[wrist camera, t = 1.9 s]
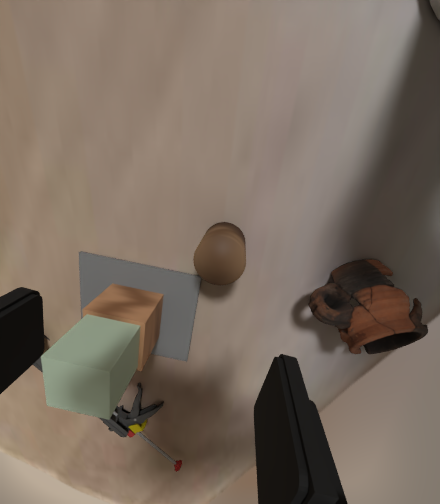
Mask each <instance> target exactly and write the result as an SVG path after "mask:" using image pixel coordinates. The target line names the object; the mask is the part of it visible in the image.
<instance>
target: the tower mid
mask: <svg viewBox="0 0 440 504" xmlns="http://www.w3.org/2000/svg"><path fill="white" fill-rule="evenodd" d="M140 327H141V326H140V325H135V324H130V323H126V322H121V321H116V320H112V319H107V318H103V317H98V316H93V315H89V314H87V315H85V316H84V317H83V318H82V319H81V320H80V321H79V322H78V323H77V324H76V325H75V326H74V327H72V328H71V329H70V330H69V331H68V332H67V333H66V334H65V335H64V336H63V337H62V338H60V339H59V340H58V341H57V342H56V343H55V344H54V345H53V346H52V347H51V348H50V349H48V350H47V351H46V352H45V353H44V354H43V355H42V356H41V362H42V370H43V378H44V386H45V394H46V402H47V406H51V407H55V408H60V409H64V410H68V411H73V412H77V413H81V414H86V415H90V416H95V417H99V418H103V419H108V420H110V418H111V416H112V414H113V412H114V410H115V408H116V407H117V405H118V403H119V401H120V399H121V397H122V395H123V393H124V392H125V390H126V388H127V386H128V384H129V382H130V380H131V379H132V377H133V375H134V373H135V371H136V369H137V367H138V355H139V341H140Z"/></svg>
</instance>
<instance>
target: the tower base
mask: <svg viewBox="0 0 440 504" xmlns="http://www.w3.org/2000/svg"><path fill="white" fill-rule="evenodd" d="M163 297H164V294H160V293H155V292H150V291H146V290H141V289H136V288H132V287H127V286H122V285H117V284H113V283H112V284H111V285H110V286H109V287H108V288H107V289H105V290H104V291H103V292H102V293H101V294H100V295H98V296H97V297H96V298H95V299H94V300H93V301H91V302H90V303H89V304H88V305H87V306H86V307H85V308H83V309H82V312H83V317H84V316H85V315H87V314H89V315H93V316H98V317H103V318H107V319H112V320H116V321H121V322H126V323H130V324H135V325H140V326H141V327H140V341H139V355H138V367H137V369H136V370H138V371H142V369H143V367H144V365H145V363H146V361H147V359H148V357H149V355H150V354H151V352H152V350H153V348H154V346H155V344H156V342H157V340H158V338H159V333H160V324H161V315H162V306H163Z"/></svg>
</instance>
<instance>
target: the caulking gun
mask: <svg viewBox="0 0 440 504" xmlns="http://www.w3.org/2000/svg"><path fill="white" fill-rule="evenodd" d="M44 338H47V337H46V336H44ZM47 339H48V338H47ZM48 340H49V339H48ZM33 365H34V366H35V367H36V368H38V369H39V370H40V371H41V372H43V370H42V362H41V357H40V358H39V359H38V360H37V361H36V362H35V363H34V364H33ZM140 385H141V384H140V383H138V385H137V388H138V389H139V392H138V394H137V396H136V398H135V401H134V403H133V407H132V410H131V413H129V414H128V413H125V412H124V411H122V407H123V405H122V406H120V407H118V406H117V407H116V408H115V410H114V412H113V414H112V416H111V418H110V420H108V419H103V418H100V419H101V420H102V421H103V423H104V424H106V425H107V426H108V427H109V430H110V431H114V432H116V433H117V434H118V435H119V436H121V437H126V436H127V435H128V436H129V437H133V436H134V435H135V433H137V434H138V435H139V436H140V437H142V438H143V439H144V440H145V441H147V442H148V443H149V444H150V445H151V446H153V447H154V448H155V449H156V450H157V451H159V452H160V453H161V454H162V455H164V456H165V457H166V458H167V459H168V460H170V461H171V462H172V463H173V464H174V466H175V471H176V472H177V471H179V469H180V468H181V465H182V461H181V460H179V461H175V460H173V459H172V458H171V457H170V456H168V455H167V454H166V453H165V452H164V451H162V450H161V449H160V448H159V447H158V446H156V445H155V444H154V443H153V442H152V441H150V440H149V439H148V438H147V437H145V436H144V435H143V434H142V433H141V432H140V431H143V429H144V428H145V425H146V422H147V418H149V417H151V416H152V415H153V414H155V413H156V412H157V411H158V410H159V409H160V408H161V407H162V406H163V403H164V401H163V403H161V404H160V405H159V406H157V405H155V404H154V405H152V406H149V407H147V408H145V409H143V410H140V406H141V405H140V399H141V396H142V388H140ZM98 418H99V417H98Z"/></svg>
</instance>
